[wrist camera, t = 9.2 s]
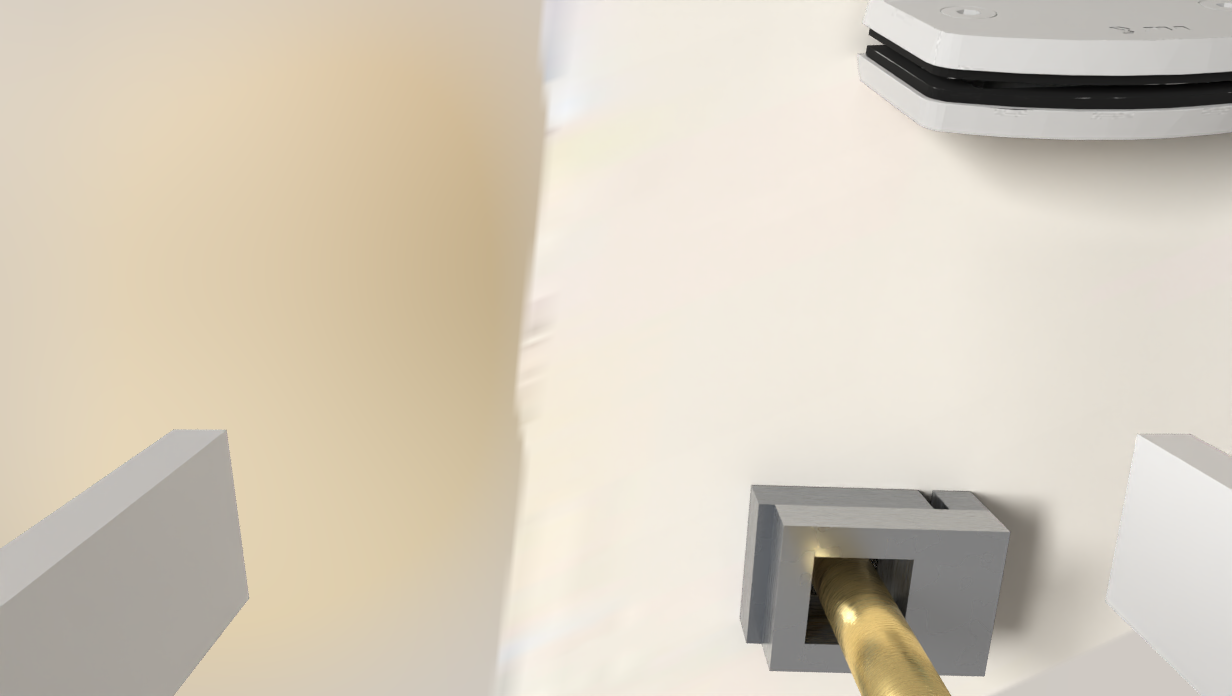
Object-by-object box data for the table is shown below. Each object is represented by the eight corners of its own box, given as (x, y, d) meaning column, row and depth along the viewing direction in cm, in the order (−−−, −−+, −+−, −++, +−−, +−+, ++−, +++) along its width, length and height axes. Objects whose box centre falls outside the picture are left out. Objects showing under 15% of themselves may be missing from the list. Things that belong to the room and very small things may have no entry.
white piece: (1237, -49, 36) (1428, 1, 27) (1195, 61, 38) (1357, 136, 30) (860, -39, 36) (938, 14, 27) (845, 70, 38) (911, 148, 30)
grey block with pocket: (739, 618, 44) (753, 670, 40) (751, 485, 42) (767, 525, 38) (948, 624, 44) (984, 676, 40) (970, 491, 42) (1010, 531, 38)
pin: (865, 529, 43) (981, 713, 29) (858, 582, 44) (968, 785, 30) (805, 528, 43) (895, 712, 29) (800, 581, 44) (884, 783, 30)
